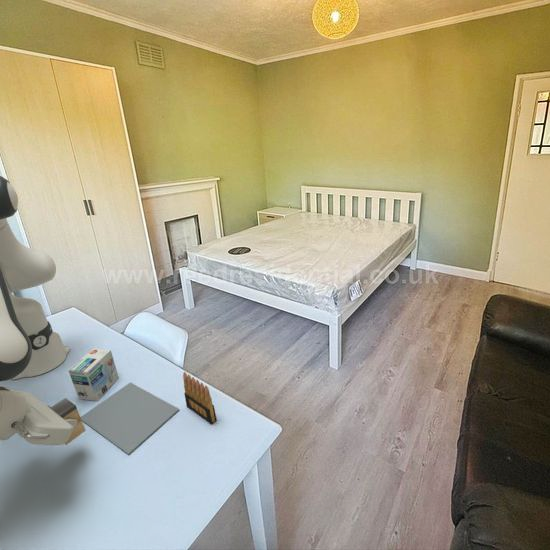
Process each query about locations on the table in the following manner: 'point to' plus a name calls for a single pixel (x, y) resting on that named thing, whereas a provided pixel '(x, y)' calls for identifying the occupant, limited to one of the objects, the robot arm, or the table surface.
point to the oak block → (69, 416)
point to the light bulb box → (94, 374)
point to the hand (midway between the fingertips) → (68, 417)
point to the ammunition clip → (199, 399)
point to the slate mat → (129, 417)
